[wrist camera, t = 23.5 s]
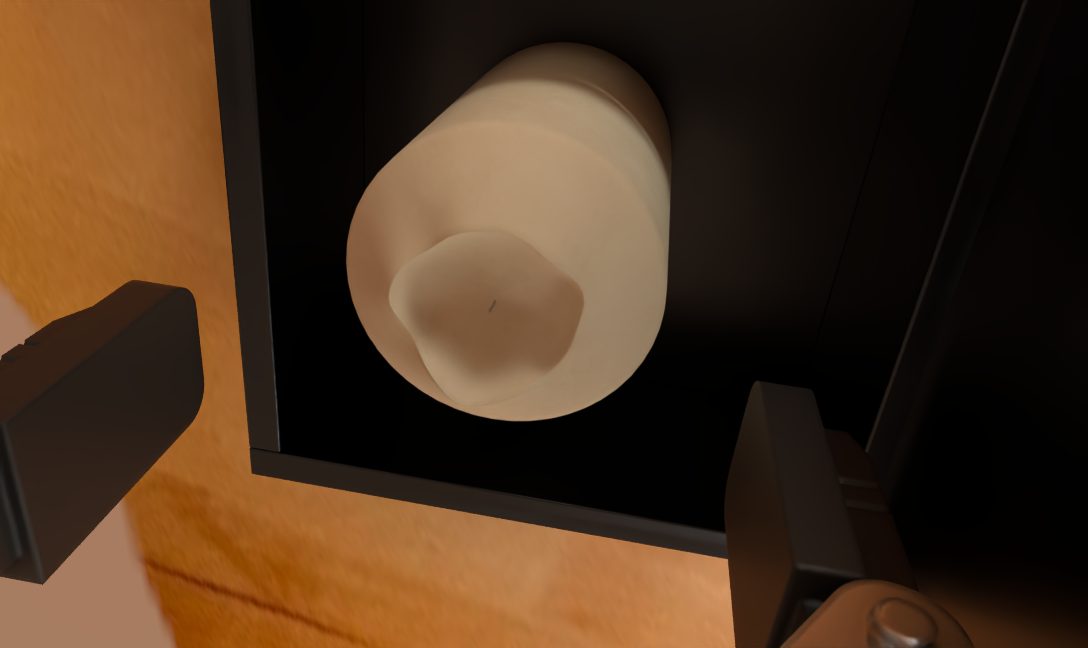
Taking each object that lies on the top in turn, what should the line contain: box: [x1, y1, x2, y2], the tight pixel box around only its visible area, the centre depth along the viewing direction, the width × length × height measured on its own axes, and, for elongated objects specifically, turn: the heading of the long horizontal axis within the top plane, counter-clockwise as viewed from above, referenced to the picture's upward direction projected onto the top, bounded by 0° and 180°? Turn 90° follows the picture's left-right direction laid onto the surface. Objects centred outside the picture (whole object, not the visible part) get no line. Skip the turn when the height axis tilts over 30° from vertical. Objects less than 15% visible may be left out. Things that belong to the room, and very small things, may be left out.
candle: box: [346, 42, 672, 421], centre depth 17 cm, size 6×6×10 cm
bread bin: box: [210, 0, 1064, 559], centre depth 19 cm, size 15×15×7 cm
